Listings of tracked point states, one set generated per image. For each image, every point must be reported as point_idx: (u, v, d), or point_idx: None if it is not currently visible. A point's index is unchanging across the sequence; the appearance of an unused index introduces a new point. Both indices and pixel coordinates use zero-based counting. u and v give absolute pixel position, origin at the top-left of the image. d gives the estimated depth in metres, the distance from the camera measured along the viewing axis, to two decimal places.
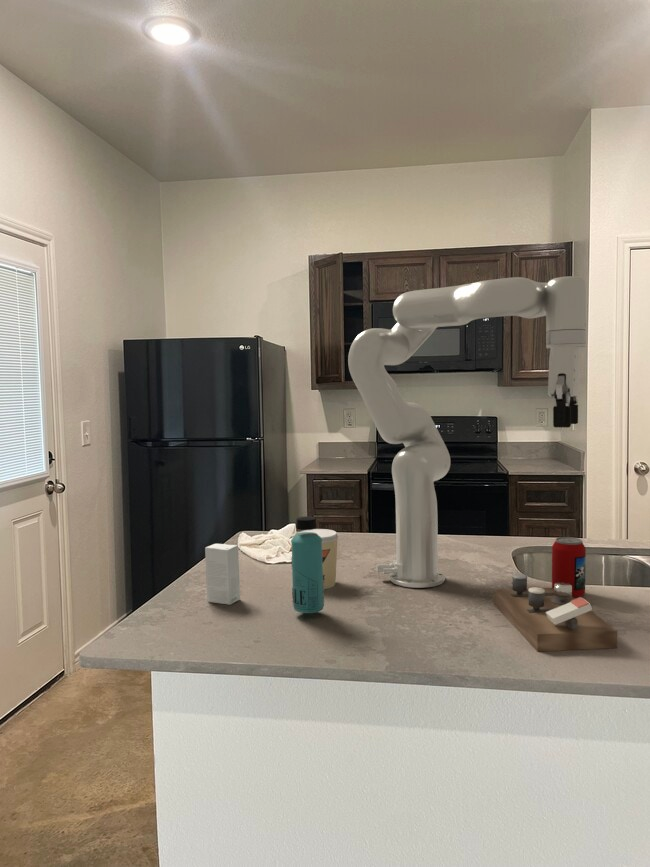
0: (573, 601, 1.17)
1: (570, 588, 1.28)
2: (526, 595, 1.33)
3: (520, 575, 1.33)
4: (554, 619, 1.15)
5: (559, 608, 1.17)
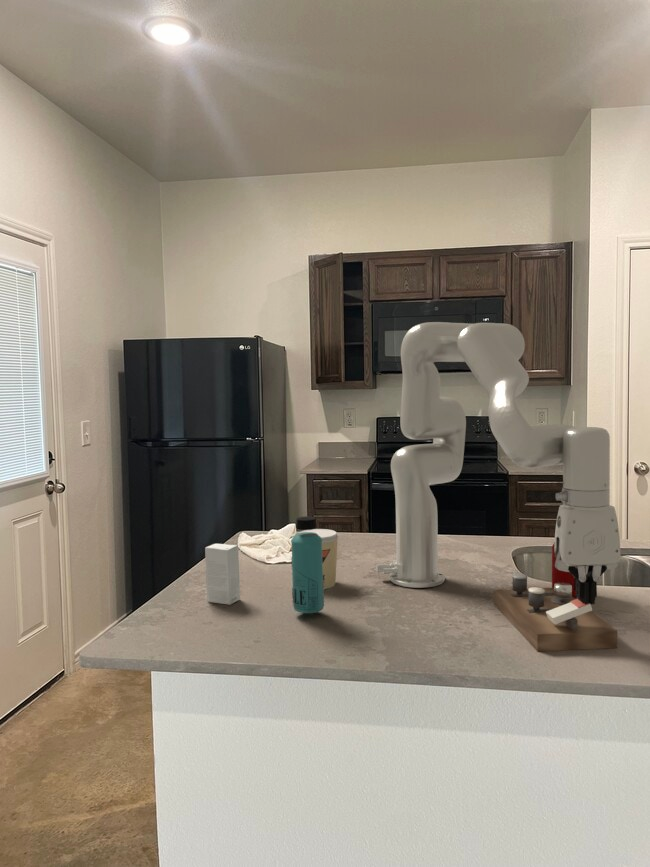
0: (573, 601, 1.17)
1: (570, 588, 1.28)
2: (526, 595, 1.33)
3: (520, 575, 1.33)
4: (554, 619, 1.15)
5: (559, 608, 1.17)
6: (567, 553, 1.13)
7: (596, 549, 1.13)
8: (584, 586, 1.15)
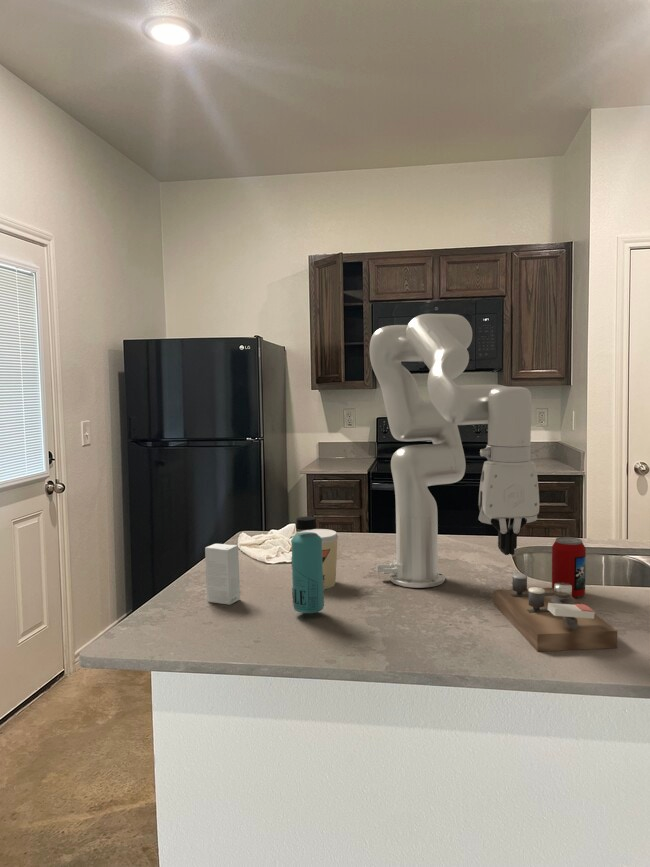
0: (577, 605, 1.18)
1: (570, 588, 1.28)
2: (526, 595, 1.33)
3: (520, 575, 1.33)
4: (556, 610, 1.15)
5: (562, 605, 1.17)
6: (488, 506, 1.19)
7: (516, 502, 1.19)
8: (505, 538, 1.21)
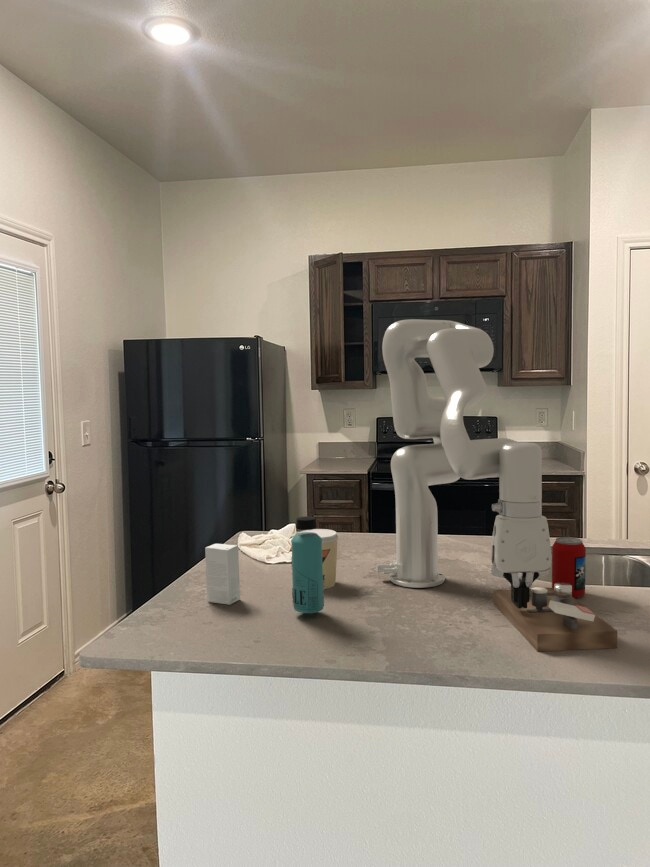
0: (579, 606, 1.18)
1: (570, 588, 1.28)
2: None
3: (520, 575, 1.33)
4: (558, 607, 1.15)
5: (564, 604, 1.17)
6: (500, 560, 1.21)
7: (528, 557, 1.21)
8: (518, 591, 1.23)
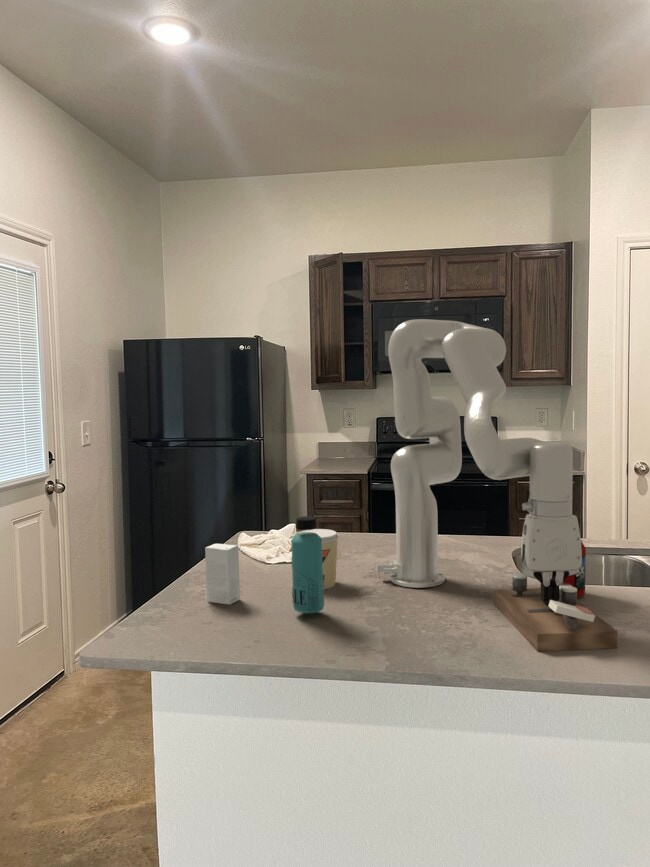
0: (579, 606, 1.18)
1: None
2: (526, 595, 1.33)
3: (520, 575, 1.33)
4: (558, 607, 1.15)
5: (564, 604, 1.17)
6: (531, 559, 1.21)
7: (559, 556, 1.21)
8: (548, 590, 1.23)
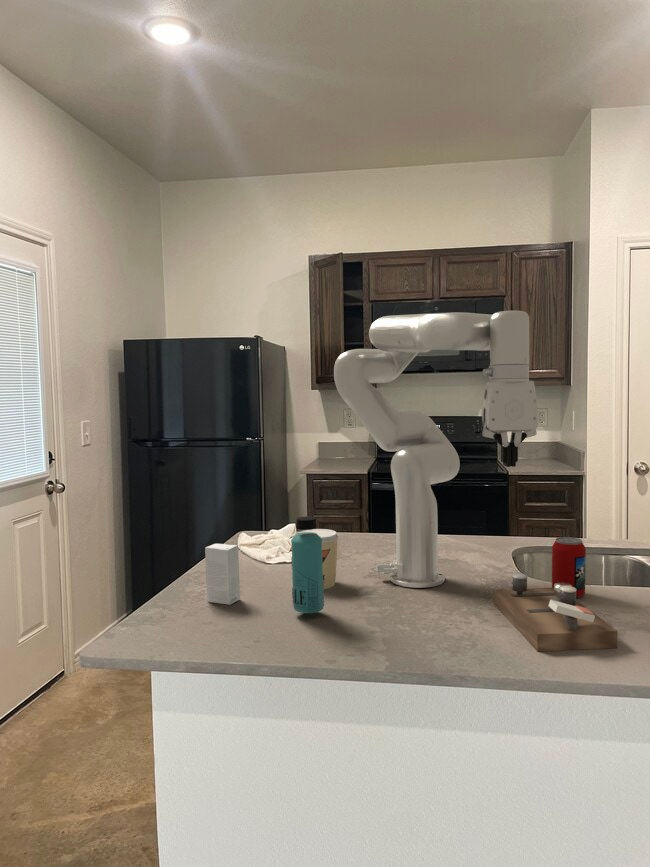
0: (579, 606, 1.18)
1: None
2: (526, 595, 1.33)
3: (520, 575, 1.33)
4: (558, 607, 1.15)
5: (564, 604, 1.17)
6: (491, 420, 1.30)
7: (516, 416, 1.30)
8: (507, 451, 1.32)
